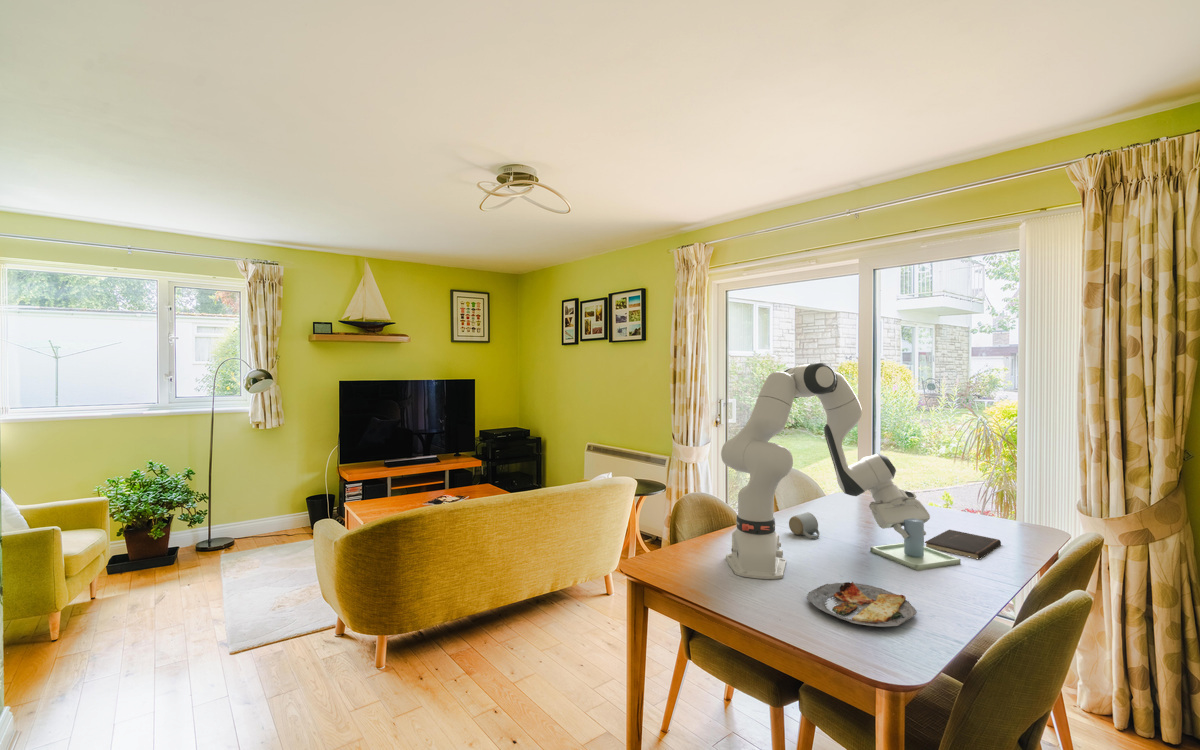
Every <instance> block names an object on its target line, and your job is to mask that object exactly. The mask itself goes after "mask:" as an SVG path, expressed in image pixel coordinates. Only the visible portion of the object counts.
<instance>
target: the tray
mask: <svg viewBox="0 0 1200 750" xmlns="http://www.w3.org/2000/svg"><path fill="white" fill-rule="evenodd" d="M869 550H870V552H871V553H874V554H875V555H878V556H881V557H884V558H886V559H888V560H890V561H893V562H896V563H898V564H901V565H903V566H906V567H907V568H910V569H913V570H915V571H921V570H928V569H935V568H942V567H947V566H948V565H949V566H955V565H954V564H956V565H961V564H960V563H961V561H962V560H961V558H958V557H956V556H953V555H950V554H948V553H944V552H943V551H940V550H937V549H932V548H928V547H926V545H924V556H922V557H914V556H909V555H907V554H905V553H904V542H899V543H891V544H883V545H876V546H875V545H874V546H870V549H869Z"/></svg>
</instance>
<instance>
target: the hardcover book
mask: <svg viewBox="0 0 1200 750" xmlns="http://www.w3.org/2000/svg"><path fill="white" fill-rule="evenodd" d="M924 544H925V547H928V548H931V549H934V550H936V551H941V550H942V551H941V552H945V551H947V553H950V552H951V553H950V554H954V553H955V555H958V554H960V555H959V556H962V555H965V556H964V557H967V556H970V557H969V558H971V557H974V558H973V559H975V558H978V559H977V560H980V558H981V557H982V558H983V557H985V556H987V553H988V554H990V553H991V552H993V551H994V550H995V549H997V548H998V547H1000V546H1001V545H1002V542H1001V540H1000V539H998V538H993V537H988V536H985V535H983V536H982V535H980V534H979V535H978V534H973V533H969V532H965V531H964V532H963V531H958V530H954V529H948V530H945V531H944V532H941V533H939V534H938V535H935V536H933V537H932V538H930V539H928V540H926V541H924ZM999 545H1000V546H999ZM996 547H997V548H996ZM993 549H994V550H993ZM990 551H991V552H990ZM984 555H985V556H984ZM982 558H981V559H982Z"/></svg>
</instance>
